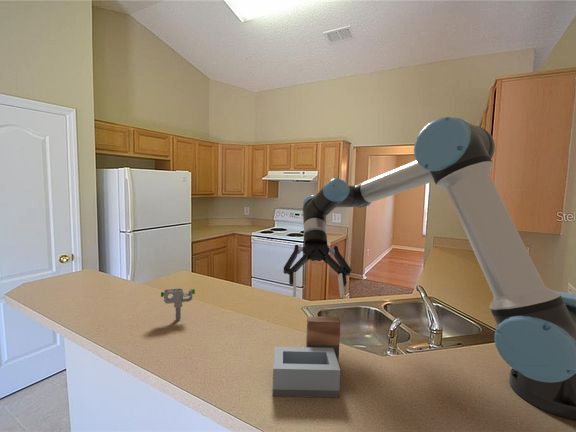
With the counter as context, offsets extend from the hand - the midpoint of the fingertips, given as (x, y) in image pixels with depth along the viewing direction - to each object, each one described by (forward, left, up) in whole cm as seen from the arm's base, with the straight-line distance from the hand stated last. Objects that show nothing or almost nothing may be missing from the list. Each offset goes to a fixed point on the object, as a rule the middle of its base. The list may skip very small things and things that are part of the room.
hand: (318, 295), depth 86 cm
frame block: (-16, +11, -14) cm, 24 cm away
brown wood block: (-9, +3, -14) cm, 17 cm away
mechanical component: (+27, +37, -14) cm, 48 cm away
